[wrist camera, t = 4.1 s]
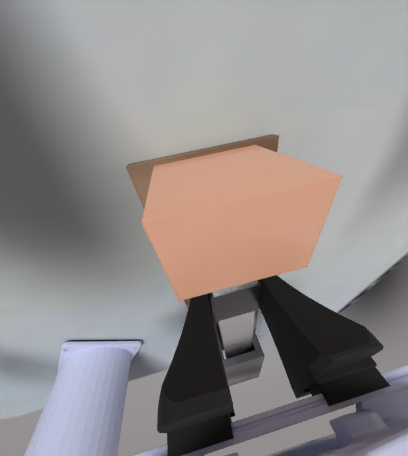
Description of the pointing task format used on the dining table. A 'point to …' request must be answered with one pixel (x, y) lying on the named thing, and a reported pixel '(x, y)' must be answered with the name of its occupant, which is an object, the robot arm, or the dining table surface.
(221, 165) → the peach-orange block
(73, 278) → the dining table surface
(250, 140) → the brown wooden bar
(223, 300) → the grey banded bar
